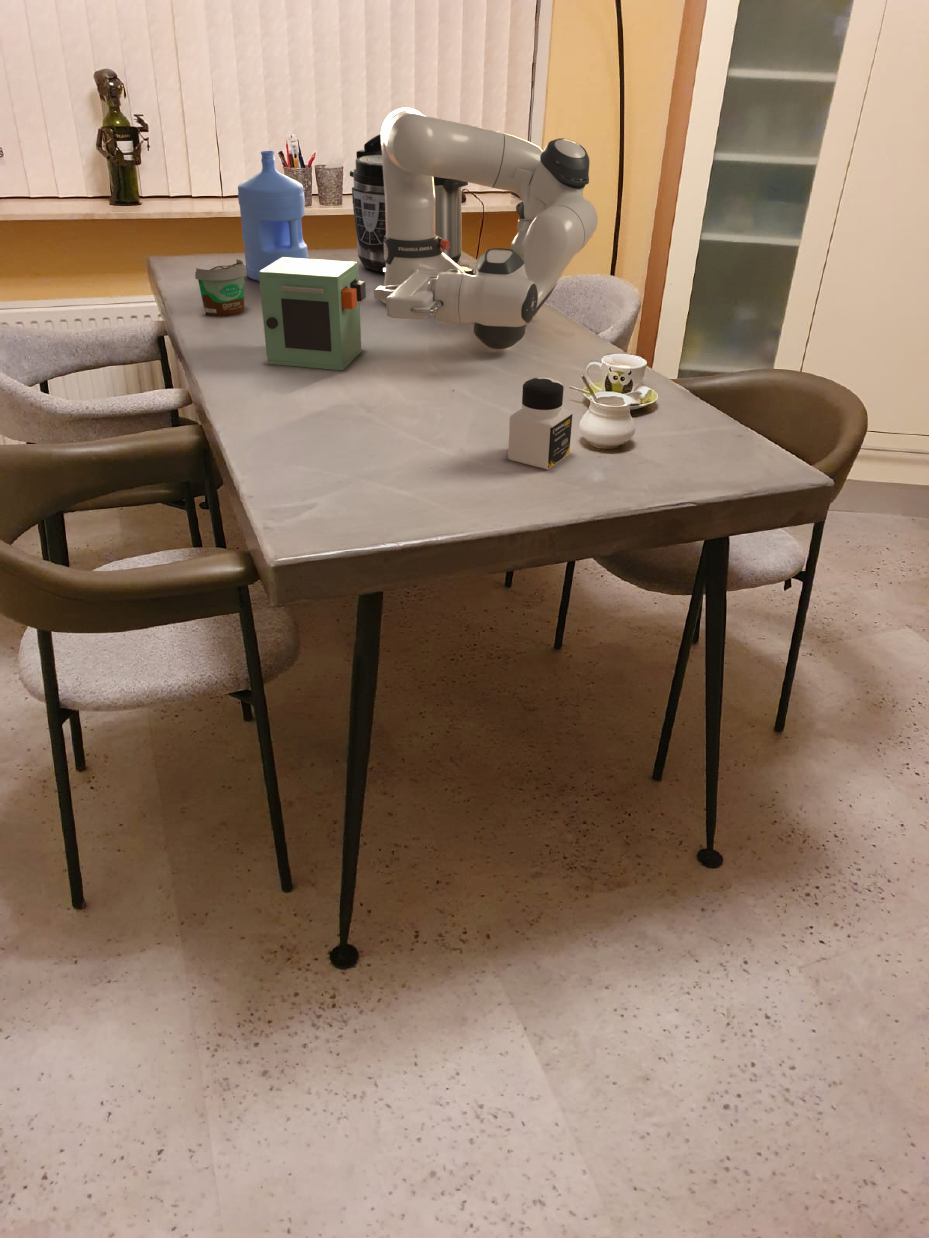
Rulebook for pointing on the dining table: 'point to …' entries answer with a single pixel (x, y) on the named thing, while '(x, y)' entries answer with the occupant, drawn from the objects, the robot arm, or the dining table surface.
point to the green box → (309, 313)
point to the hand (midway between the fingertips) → (376, 292)
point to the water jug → (271, 217)
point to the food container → (222, 289)
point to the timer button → (359, 289)
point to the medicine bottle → (540, 425)
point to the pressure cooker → (372, 208)
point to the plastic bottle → (521, 237)
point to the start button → (349, 298)
